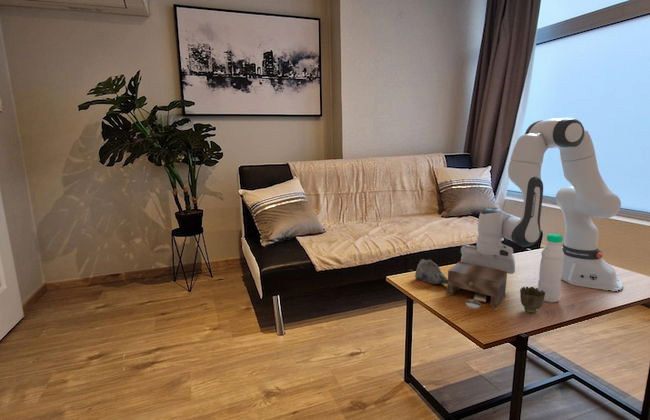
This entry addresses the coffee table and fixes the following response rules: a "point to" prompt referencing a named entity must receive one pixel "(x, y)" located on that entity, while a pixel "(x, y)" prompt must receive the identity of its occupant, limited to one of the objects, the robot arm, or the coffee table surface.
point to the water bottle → (551, 268)
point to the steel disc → (473, 304)
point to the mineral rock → (430, 272)
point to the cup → (531, 299)
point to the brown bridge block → (478, 281)
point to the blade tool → (480, 297)
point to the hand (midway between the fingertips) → (486, 279)
